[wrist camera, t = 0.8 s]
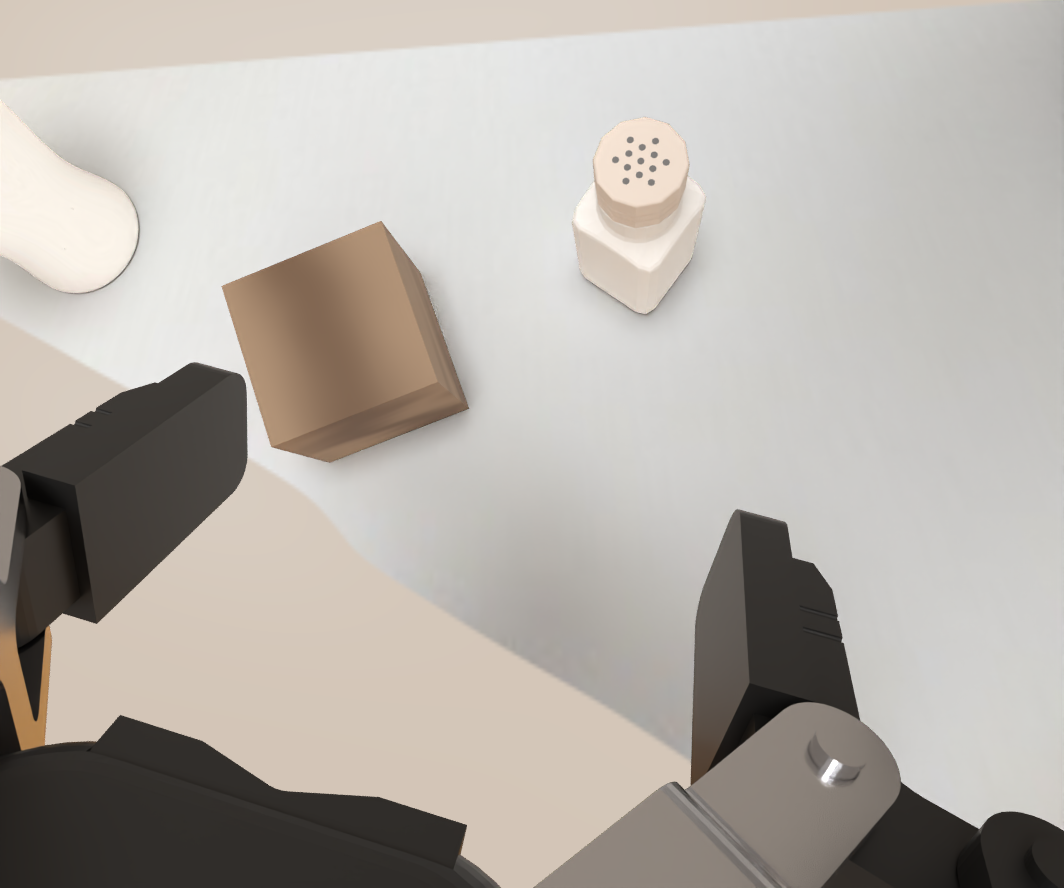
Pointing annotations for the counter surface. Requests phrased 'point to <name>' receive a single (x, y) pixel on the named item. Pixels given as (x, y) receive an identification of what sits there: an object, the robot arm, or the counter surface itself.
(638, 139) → the pepper shaker
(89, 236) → the beer glass
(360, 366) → the walnut block
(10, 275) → the counter surface
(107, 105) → the counter surface
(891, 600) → the counter surface
